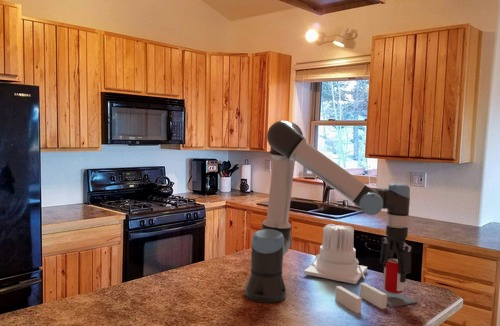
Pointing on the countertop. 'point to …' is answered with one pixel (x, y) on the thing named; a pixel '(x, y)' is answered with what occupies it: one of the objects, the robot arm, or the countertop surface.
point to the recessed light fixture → (337, 256)
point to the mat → (398, 299)
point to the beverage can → (391, 276)
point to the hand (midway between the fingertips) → (393, 286)
